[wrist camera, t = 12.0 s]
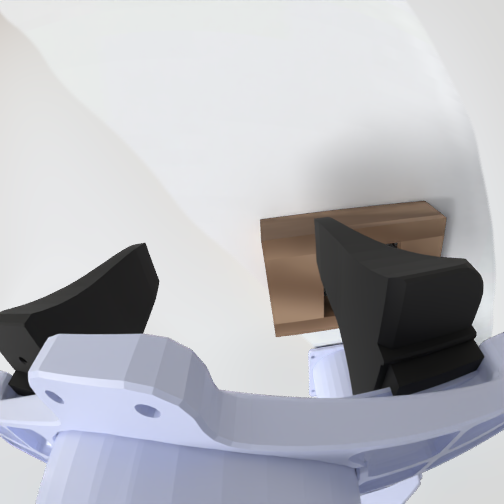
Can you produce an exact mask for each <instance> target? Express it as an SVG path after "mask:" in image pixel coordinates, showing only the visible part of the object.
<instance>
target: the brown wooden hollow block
mask: <svg viewBox="0 0 504 504" xmlns="http://www.w3.org/2000/svg"><path fill="white" fill-rule="evenodd" d="M323 217H331V218H333V219H335V220H337V221H339V222H340V223H342V224H344V225H346V226H348V227H349V228H351V229H353V230H355V231H357V232H359V233H361V234H363V235H365V236H367V237H369V238H372V239H374V240H376V241H378V242H381V243H384V244H390V243H397V242H398V245H397V248H399V249H402V250H406V251H410V252H414V253H419V254H424V255H430V256H437V257H440V256H441V251H442V245H443V239H444V233H445V226H446V219H447V218H446V217H445V216H444V215H443V214H441V213H440V212H439V211H437V210H436V209H435V208H434V207H432V206H431V205H430V204H428V203H427V202H426V201H418V202H407V203H397V204H387V205H377V206H368V207H358V208H349V209H340V210H332V211H323V212H315V213H307V214H299V215H291V216H283V217H276V218H268V219H261V220H260V226H261V243H262V249H263V255H264V262H265V268H266V275H267V281H268V288H269V294H270V301H271V307H272V314H273V320H274V327H275V334H276V337H281V336H289V335H297V334H304V333H311V332H318V331H324V330H331V329H337V328H339V326H338V323H337V320H336V317H335V315H334V312H333V310H332V307H331V304H330V302H329V299H328V297H327V296H324V287H323V284H322V282H321V278H320V274H319V270H318V266H317V262H316V242H315V225H314V218H323Z"/></svg>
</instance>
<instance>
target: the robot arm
mask: <svg viewBox="0 0 504 504" xmlns="http://www.w3.org/2000/svg"><path fill="white" fill-rule="evenodd" d="M314 225H315V242H316V262H317V266H318V270H319V274H320V278H321V282H322V284H323V287H324V289H325V292H326V294H327V297H328V299H329V302H330V304H331V307H332V310H333V312H334V315H335V317H336V320H337V323H338V326H339V329H340V333H341V338H342V342H343V344H340V345H334V346H328V347H321V348H315V349H311V350H309V354H308V355H309V395H310V396H312V397H313V396H317V398H305V397H286V396H272V395H260V394H250V393H241V392H233V391H226V390H219V389H218V388H217V386H216V385H215V384H214V382H213V380H212V378H211V375H210V373H209V371H208V369H207V367H206V365H205V364H204V363H203V362H202V361H201V360H200V358H199V357H198V356H197V355H196V354H195V353H194V352H193V350H191V349H190V348H188V347H186V346H184V345H182V344H180V343H178V342H176V341H174V340H172V339H170V338H168V337H162V336H155V335H149V334H143V332H144V329H145V327H146V324H147V321H148V319H149V316H150V313H151V311H152V308H153V305H154V302H155V299H156V295H157V291H158V286H159V279H158V276H157V274H156V271H155V268H154V266H153V263H152V260H151V257H150V255H149V252H148V249H147V246H146V244H145V243H141V244H135V245H132V246H130V247H128V248H126V249H124V250H122V251H121V252H119V253H117V254H116V255H115V256H113V257H112V258H110V259H109V260H107V261H106V262H104V263H103V264H101V265H100V266H98V267H97V268H95V269H94V270H92V271H91V272H89V273H88V274H87V275H85V276H83V277H82V278H80V279H78V280H77V281H75V282H73V283H72V284H70V285H68V286H66V287H64V288H62V289H60V290H58V291H56V292H54V293H52V294H50V295H48V296H46V297H43V298H41V299H38V300H36V301H33V302H30V303H28V304H25V305H22V306H18V307H15V308H11V309H8V310H4V311H2V312H0V352H1V353H2V355H3V356H4V357H5V358H6V360H7V361H8V362H9V364H10V365H11V366H12V367H13V368H14V369H15V370H16V371H15V373H14V374H13V376H12V375H10V374H9V373H7V372H4V371H1V370H0V437H2V438H3V439H4V440H5V441H7V442H8V443H9V444H10V445H12V446H14V447H16V448H18V449H20V450H21V451H23V452H25V453H27V454H29V455H31V456H33V457H35V458H37V459H39V460H41V461H43V462H45V463H47V465H46V468H45V471H44V475H43V478H42V481H41V485H40V488H39V492H38V495H37V499H36V503H35V504H405V502H406V501H407V500H408V499H409V498H410V497H411V496H412V495H413V493H414V492H415V491H416V490H417V489H418V487H419V486H420V484H421V482H420V480H421V479H422V473H423V472H425V471H428V470H430V469H432V468H434V467H437V466H439V465H441V464H443V463H445V462H447V461H449V460H450V459H453V458H455V457H457V456H459V455H461V454H462V453H464V452H466V451H468V450H470V449H472V448H473V447H475V446H477V445H479V444H480V443H482V442H484V441H486V440H488V439H489V438H491V437H493V436H494V435H496V434H498V433H499V432H501V431H502V430H504V332H503V333H501V334H498V335H496V336H494V337H491V338H489V339H487V340H485V341H483V342H482V343H481V344H480V345H479V347H478V345H477V344H476V342H475V341H474V338H475V337H476V331H475V329H474V328H473V326H472V323H473V320H474V318H475V315H476V313H477V310H478V308H479V305H480V302H481V299H482V295H483V280H482V277H481V275H480V274H479V273H478V271H477V270H476V269H475V268H474V267H473V266H472V265H471V264H470V263H469V262H468V261H467V260H466V259H462V258H447V257H437V256H430V255H424V254H419V253H414V252H410V251H406V250H402V249H399V248H395V247H392V246H389V245H387V244H384V243H381V242H378V241H376V240H374V239H372V238H369V237H367V236H365V235H363V234H361V233H359V232H357V231H355V230H353V229H351V228H349V227H348V226H346V225H344V224H342V223H340V222H339V221H337V220H335V219H333V218H331V217H323V218H314Z"/></svg>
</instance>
